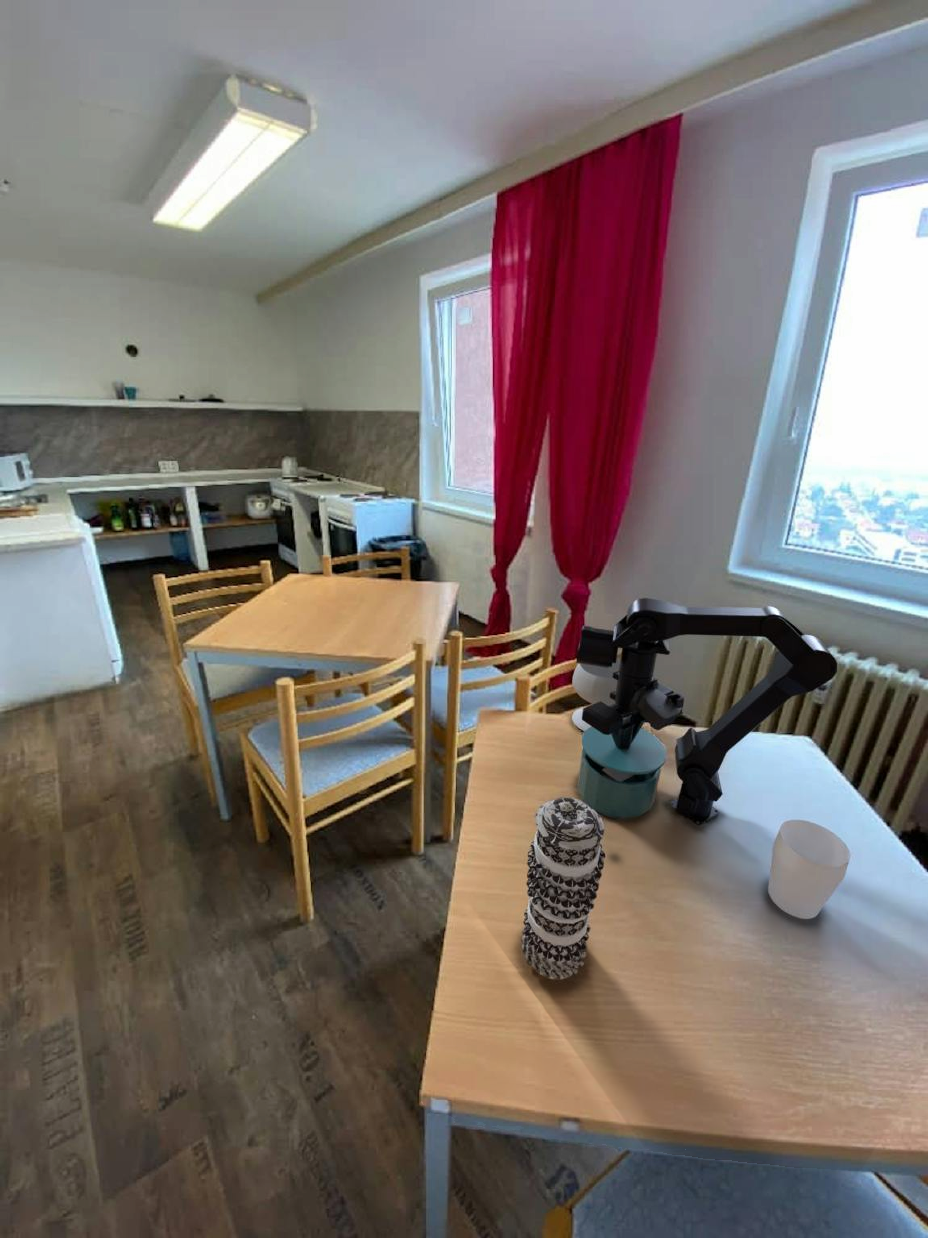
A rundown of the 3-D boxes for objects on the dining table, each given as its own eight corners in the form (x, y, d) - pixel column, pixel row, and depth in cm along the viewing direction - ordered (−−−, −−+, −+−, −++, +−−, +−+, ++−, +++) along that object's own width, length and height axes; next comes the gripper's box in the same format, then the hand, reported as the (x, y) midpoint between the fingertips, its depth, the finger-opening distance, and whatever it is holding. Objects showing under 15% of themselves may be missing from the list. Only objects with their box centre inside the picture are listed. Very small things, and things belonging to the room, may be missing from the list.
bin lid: (619, 718, 106) (623, 693, 104) (683, 758, 95) (689, 730, 92) (564, 742, 99) (567, 714, 96) (627, 788, 87) (632, 759, 85)
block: (614, 780, 103) (617, 762, 102) (631, 793, 100) (635, 774, 98) (598, 787, 101) (601, 769, 100) (615, 801, 98) (619, 782, 96)
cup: (817, 886, 82) (840, 828, 77) (834, 937, 74) (861, 875, 69) (754, 869, 85) (773, 812, 80) (764, 917, 77) (785, 857, 72)
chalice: (613, 747, 114) (622, 688, 108) (557, 724, 122) (563, 667, 116) (637, 720, 124) (647, 664, 118) (584, 700, 132) (591, 647, 126)
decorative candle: (598, 983, 67) (625, 837, 58) (529, 995, 66) (546, 847, 56) (572, 919, 76) (592, 782, 66) (511, 929, 74) (522, 790, 64)
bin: (612, 760, 110) (617, 728, 107) (669, 801, 99) (676, 767, 96) (562, 784, 103) (566, 750, 100) (617, 830, 92) (624, 795, 89)
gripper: (637, 707, 79) (623, 788, 85) (710, 676, 89) (692, 751, 95) (584, 677, 88) (575, 752, 94) (656, 652, 97) (643, 722, 103)
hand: (623, 745), depth 96 cm, fingers closed on bin lid, 2 cm apart
